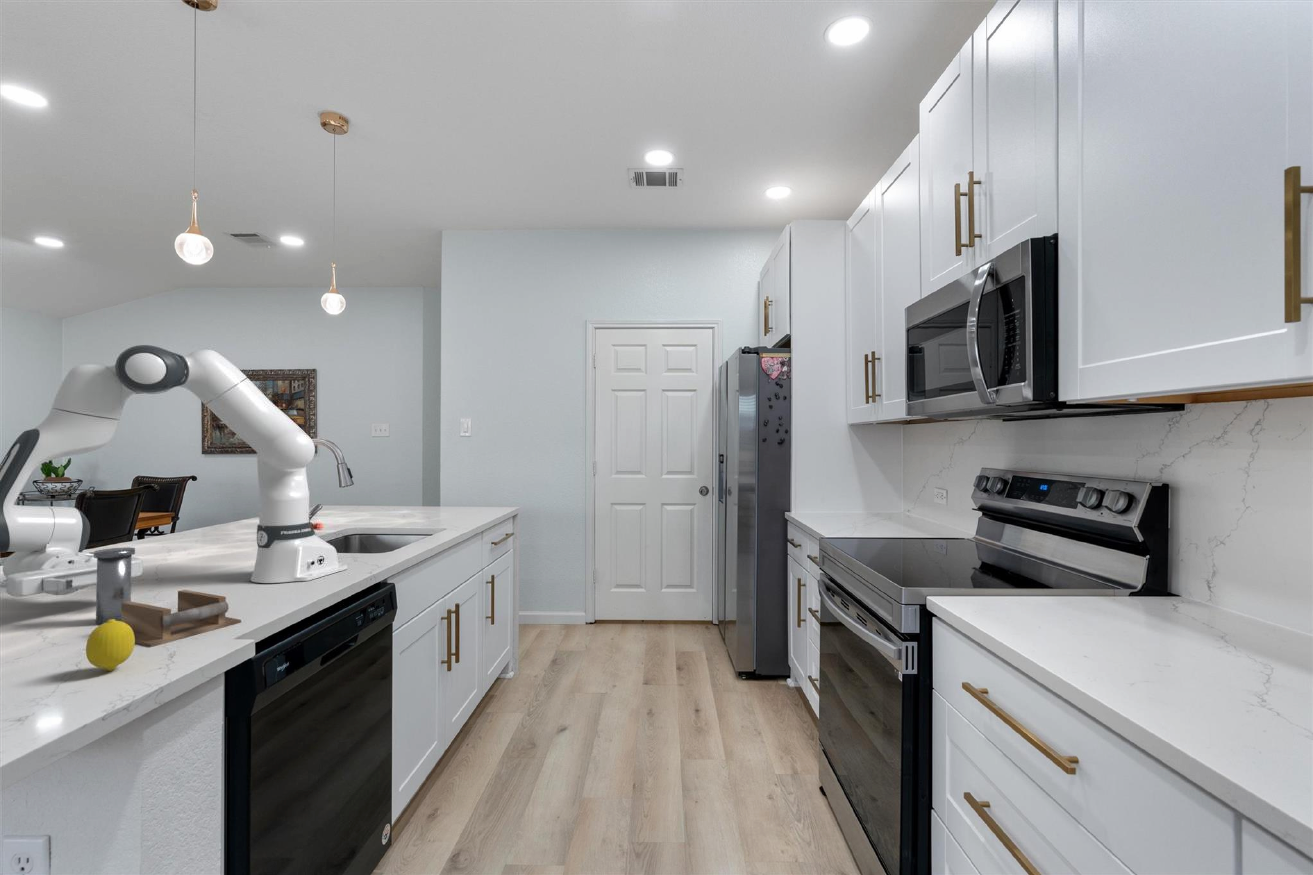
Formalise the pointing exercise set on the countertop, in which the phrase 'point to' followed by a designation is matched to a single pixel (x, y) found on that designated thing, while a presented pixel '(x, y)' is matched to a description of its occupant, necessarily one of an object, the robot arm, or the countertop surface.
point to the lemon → (110, 644)
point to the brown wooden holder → (176, 618)
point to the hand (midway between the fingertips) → (98, 579)
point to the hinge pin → (112, 582)
